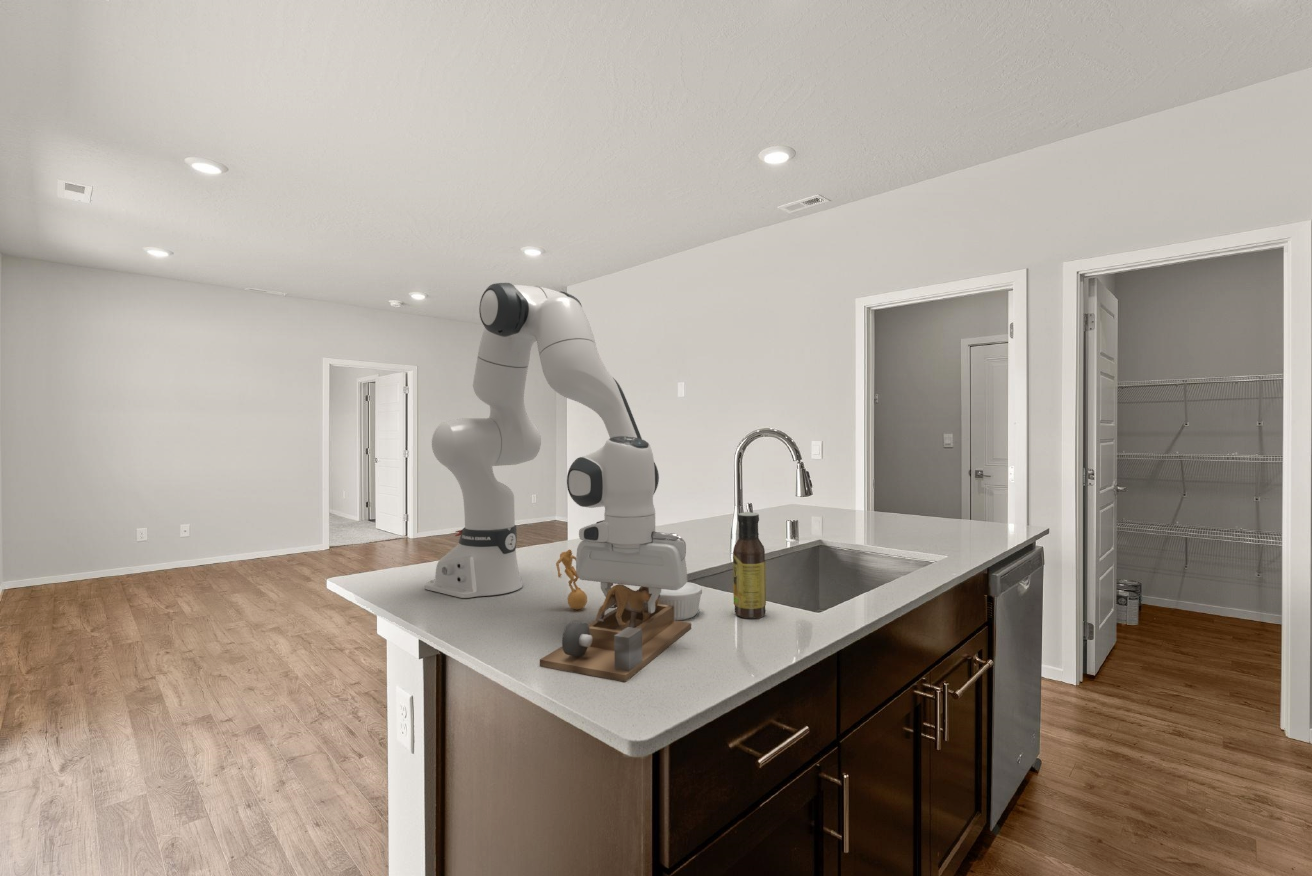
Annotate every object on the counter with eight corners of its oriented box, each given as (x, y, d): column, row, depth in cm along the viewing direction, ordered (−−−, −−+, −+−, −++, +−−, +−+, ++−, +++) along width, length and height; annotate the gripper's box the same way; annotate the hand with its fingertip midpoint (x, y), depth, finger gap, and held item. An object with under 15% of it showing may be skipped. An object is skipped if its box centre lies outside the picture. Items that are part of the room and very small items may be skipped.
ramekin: (637, 609, 126) (637, 583, 126) (687, 603, 130) (687, 578, 130) (657, 625, 116) (657, 597, 116) (711, 618, 120) (711, 591, 120)
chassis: (539, 665, 96) (539, 627, 96) (618, 618, 120) (618, 587, 120) (625, 681, 90) (625, 640, 90) (691, 628, 114) (691, 595, 114)
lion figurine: (636, 630, 114) (645, 580, 117) (660, 634, 111) (669, 583, 114) (587, 619, 103) (598, 565, 106) (612, 624, 100) (623, 568, 103)
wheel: (562, 659, 96) (561, 627, 96) (579, 648, 100) (579, 617, 100) (581, 662, 94) (580, 629, 94) (597, 651, 99) (597, 620, 99)
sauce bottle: (739, 608, 126) (738, 510, 125) (769, 612, 123) (769, 511, 123) (729, 617, 120) (728, 514, 120) (760, 621, 117) (760, 516, 117)
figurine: (573, 616, 122) (572, 554, 121) (548, 611, 124) (548, 552, 124) (597, 605, 129) (596, 547, 129) (573, 601, 132) (572, 544, 132)
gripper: (692, 531, 106) (693, 611, 107) (589, 524, 115) (590, 598, 115) (678, 537, 101) (679, 622, 101) (570, 529, 109) (571, 607, 110)
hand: (630, 609), depth 108 cm, fingers open, 6 cm apart
